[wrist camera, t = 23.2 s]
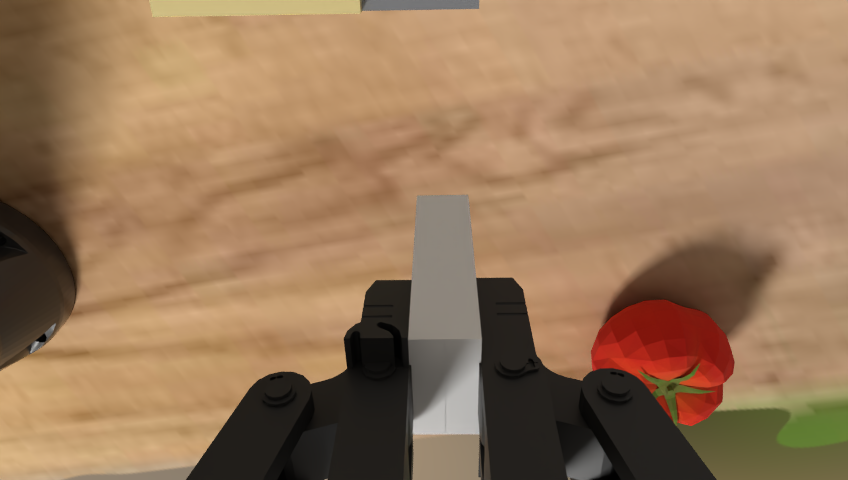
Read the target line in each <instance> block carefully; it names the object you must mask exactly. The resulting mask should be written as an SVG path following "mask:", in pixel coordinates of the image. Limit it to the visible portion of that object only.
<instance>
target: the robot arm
mask: <svg viewBox="0 0 848 480" xmlns="http://www.w3.org/2000/svg"><path fill="white" fill-rule="evenodd" d="M74 301H75V286H74V280H73V276H72V273H71V270H70V268H69V265H68V263H67V261H66V259H65V258H64V256H63V254H62V253H61V251H60V250H59V248H58V247H57V246H56V244H55V243H54V242H53V241H52V240H51V238H50V237H49V236H48V235H47V234H46V233H45V232H44V231H43V230H42V229H41V228H40V227H38V226H37V225H36V224H35V223H34V222H32V221H31V220H30V219H28V218H27V217H26V216H24V215H23V214H21V213H20V212H18V211H17V210H15V209H13V208H11V207H9V206H8V205H6V204H4V203H2V202H0V371H1V370H3V369H4V368H6V367H8V366H10V365H11V364H13V363H15V362H17V361H19V360H20V359H22V358H24V357H26V356H28V355H29V354H31V353H33V352H35V351H36V350H38V349H40V348H41V347H43V346H44V345H45V344H46V343H48V342H49V341H50V340H51V339H52V338H53V337H54V335H55V334H56V333H57V332H58V331H59V329H60V328H61V327H62V326H63V325H64V323H65V322H66V321H67V319H68V318H69V316H70V314H71V312H72V309H73V306H74ZM344 344H345V353H346V362H347V369H346V370H345V371H344V372H343V373H341V374H339V375H338V376H336V377H334V378H331V379H328V380H325V381H321V382H317V383H313V384H310V382H309V381H308V380H307V379H306V378H305V377H304V376H303V375H300V374H297V373H294V372H278V373H274V374H269V375H267V376H265V377H263V378H262V379H260V380H258V381H257V382H256V383H255V384H254V385H253V386H252V387H251V388H250V389H249V390H248V392H247V393H246V395H245V396H244V398H243V399H242V400H241V402H240V403H239V405H238V406H237V408H236V409H235V410H234V412H233V413H232V415H231V416H230V418H229V419H228V420H227V422H226V423H225V425H224V426H223V428H222V429H221V431H220V432H219V433H218V435H217V436H216V438H215V439H214V441H213V442H212V443H211V445H210V446H209V448H208V449H207V451H206V452H205V453H204V455H203V456H202V458H201V459H200V461H199V462H198V463H197V465H196V466H195V468H194V469H193V471H192V472H191V474H190V475H189V476H188V478H187V479H186V480H324V479H327V478H328V480H412V474H413V434H480V443H479V445H480V446H479V477H481V480H568V478H567V477H570V479H571V480H716V478H715V477H714V476H713V474H712V473H711V472H710V470H709V469H708V468H707V466H706V465H705V464H704V462H703V461H702V460H701V458H700V457H699V456H698V455H697V453H696V452H695V450H694V449H693V448H692V446H691V445H690V444H689V442H688V441H687V440H686V439H685V437H684V436H683V434H682V433H681V432H680V430H679V429H678V428H677V426H676V425H675V424H674V422H673V421H672V420H671V418H670V417H669V416H668V414H667V413H666V412H665V410H664V409H663V408H662V406H661V405H660V404H659V402H658V401H657V400H656V398H655V397H654V396H653V394H652V393H651V392H650V390H649V389H648V388H647V386H646V385H645V384H644V383H643V382H642V381H641V380H640V379H639V378H637V377H636V376H634V375H632V374H630V373H628V372H626V371H623V370H619V369H614V368H600V369H597V370H594V371H592V372H590V373H589V374H587V375H586V376H585V377H584V378H583V381H580V380H576V379H572V378H567V377H564V376H561V375H558V374H556V373H554V372H552V371H550V370H549V369H547V368H546V367H545V366H544V365H543V364H542V362H541V360H540V359H539V358H538V357H537V355H536V352H535V347H534V342H533V337H532V332H531V327H530V322H529V317H528V312H527V307H526V305H525V298H524V293H523V289H522V288H521V287H520V286H519V284H518V283H517V282H516V281H515V280H514V279H513V278H476V272H475V261H474V251H473V240H472V229H471V219H470V208H469V198H468V195H430V196H417V205H416V221H415V237H414V253H413V268H412V280H376V281H375V282H374V283H373V284H372V286H371V287H370V288H369V289H368V290H367V291H366V295H365V300H364V308H363V312H362V318H361V322H360V323H357V324H355V325H354V326H353V327H352V328H350V329H349V330H348V331H347V333H346V335H345V337H344Z"/></svg>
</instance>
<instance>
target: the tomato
mask: <svg viewBox="0 0 848 480" xmlns="http://www.w3.org/2000/svg"><path fill="white" fill-rule="evenodd" d="M591 357H592V369H593V371H594V370H597V369H600V368H614V369H619V370H623V371H626V372H628V373H630V374H632V375H634V376H636V377H637V378H639V379H640V380H641V381H642V382H643V383H644V384H645V385H646V386H647V388H648V389H649V390H650V392H651V393H652V394H653V396H654V397H655V398H656V400H657V401H658V402H659V404H660V405H661V406H662V408H663V409H664V410H665V412H666V413H667V414H668V416H669V417H670V418H671V420H672V421H673V422H674V424H675V425H676V426H677V423H682V424H686V425H690V426H692V425H694V424H696V423H698V422H700V421H702V420H705V419H707V417H708V416H709V415H710V414H711V413H712V412H713V411H714V410H715V409H716V408H717V407H718V406H719V405H720V404H721V402H722V399H723V383H724V382H726V380H727V379H728V378H729V377H730V376H731V375H732V374H733V369H734V358H733V355H732V351H731V348H730V345H729V342H728V339H727V337H726V335H725V333H724V332H723V331H722V330H721V329H720V328H719V327H718V325H717V324H716V323H715V322H714V321H713V320H712V319H711V318H710V317H709V316H708V314H706V313H704V312H702V311H699V310H696V309H691V308H685V307H683V306H680V305H677V304H675V303H672V302H670V301H668V300H666V299H664V300H647V301H643V302H640V303H637V304H634V305H631V306H628V307H626V308H624V309H623V310H622V311H620V312H619V313H617V314H616V315H614V316H613V317H611V318H610V319H609V320H608V321H607V322H606V324H605V325H604V326H603V327H602V328H601V329H600V330H599V332H598V335H597V337H596V340H595V342H594V345H593V348H592V350H591Z"/></svg>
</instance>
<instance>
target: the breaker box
mask: <svg viewBox="0 0 848 480" xmlns="http://www.w3.org/2000/svg"><path fill="white" fill-rule="evenodd" d="M149 3H150V7H151V11H152V16H153V17H186V16H245V15H304V14H361V12H362V11H376V10H434V9H479V0H149Z"/></svg>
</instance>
